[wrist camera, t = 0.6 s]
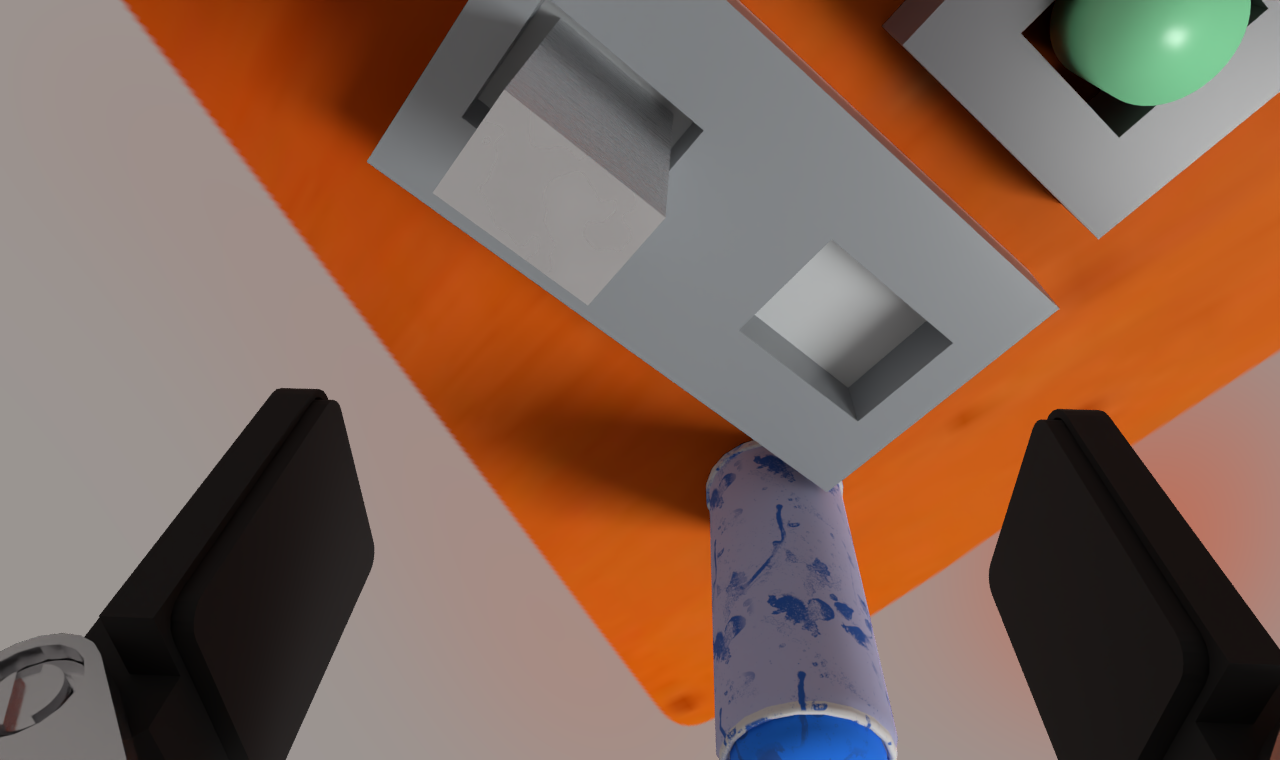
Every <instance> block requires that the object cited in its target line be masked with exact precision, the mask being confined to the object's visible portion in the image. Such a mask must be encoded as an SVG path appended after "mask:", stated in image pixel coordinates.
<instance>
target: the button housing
mask: <svg viewBox="0 0 1280 760" xmlns="http://www.w3.org/2000/svg"><path fill="white" fill-rule="evenodd" d="M1053 1H1054V0H905V1H904V2H903V4H902V5H901V6H900V7H899V8H898V9H897V10H896V11H895V12H894V13H893V15H892V16H891V17H890V18H889V19H888V20H887V21H886V22H885V23H884V24H883V25H882V27H883V28H884V29H885V30H886V31H887V32H888V33H889V34H890V35H891V36H892V37H893V38H894V39H895V40H896V41H897V42H898V43H899V44H900V45H901V46H902V47H903V48H904V49H905V50H906V51H907V52H908V53H909V54H910V55H911V56H912V57H913V58H914V59H915V60H916V61H917V62H919V63H920V64H921V65H922V66H923V67H924V68H925V69H926V70H927V71H928V72H929V73H930V74H931V75H932V76H933V77H934V78H935V79H936V80H937V81H938V82H939V83H940V84H941V85H942V86H943V87H944V88H945V89H946V90H947V91H948V92H949V93H950V94H951V95H952V96H953V97H954V98H955V99H956V100H957V101H958V102H959V103H960V104H961V105H962V106H963V107H964V108H965V109H966V110H967V111H968V112H969V113H970V114H971V115H972V116H973V117H974V118H975V119H976V120H977V121H978V122H979V123H980V124H981V125H982V126H983V127H984V128H985V129H986V130H987V131H988V132H989V133H990V134H991V135H992V136H993V137H994V138H995V139H996V140H997V141H998V142H999V143H1000V144H1001V145H1002V146H1003V147H1004V148H1005V149H1006V150H1007V151H1009V152H1010V153H1011V154H1012V155H1013V156H1014V157H1015V158H1016V159H1017V160H1018V161H1019V162H1020V163H1021V164H1022V165H1023V166H1024V167H1025V168H1026V169H1027V170H1028V171H1029V172H1030V173H1031V174H1032V175H1033V176H1034V177H1035V178H1036V179H1037V180H1038V181H1039V182H1040V183H1041V184H1042V185H1043V186H1044V187H1045V188H1046V189H1047V190H1048V191H1049V192H1050V193H1051V194H1052V195H1053V196H1054V197H1055V198H1056V199H1057V200H1058V201H1059V202H1060V203H1061V204H1062V205H1063V206H1064V207H1065V208H1066V209H1067V210H1068V211H1069V212H1070V213H1072V214H1073V215H1074V216H1075V217H1076V218H1077V219H1078V220H1079V221H1080V222H1081V223H1082V224H1083V225H1084V226H1085V227H1086V228H1087V229H1088V230H1089V231H1090V232H1091V233H1092V234H1094V235H1095V236H1096V237H1097V238H1098V239H1099V238H1101V237H1102V236H1103V235H1104V234H1106V233H1107V232H1108V231H1109V230H1110V229H1112V228H1113V227H1114V226H1115V225H1117V224H1118V223H1119V222H1120V221H1122V220H1123V219H1124V218H1125V217H1126V216H1128V215H1129V214H1130V213H1131V212H1133V211H1134V210H1135V209H1136V208H1137V207H1139V206H1140V205H1141V204H1142V203H1144V202H1145V201H1146V200H1147V199H1149V198H1150V197H1151V196H1152V195H1153V194H1155V193H1156V192H1157V191H1158V190H1160V189H1161V188H1162V187H1163V186H1164V185H1166V184H1167V183H1168V182H1169V181H1171V180H1172V179H1173V178H1174V177H1176V176H1177V175H1178V174H1179V173H1180V172H1182V171H1183V170H1184V169H1185V168H1187V167H1188V166H1189V165H1190V164H1192V163H1193V162H1194V161H1195V160H1196V159H1198V158H1199V157H1200V156H1201V155H1203V154H1204V153H1205V152H1206V151H1207V150H1209V149H1210V148H1211V147H1212V146H1214V145H1215V144H1216V143H1217V142H1219V141H1220V140H1221V139H1222V138H1223V137H1225V136H1226V135H1227V134H1228V133H1230V132H1231V131H1232V130H1233V129H1234V128H1236V127H1237V126H1238V125H1239V124H1241V123H1242V122H1243V121H1244V120H1246V119H1247V118H1248V117H1249V116H1250V115H1252V114H1253V113H1254V112H1255V111H1257V110H1258V109H1259V108H1260V107H1261V106H1263V105H1264V104H1265V103H1266V102H1268V101H1269V100H1270V99H1271V98H1273V97H1274V96H1275V95H1276V94H1277V93H1279V92H1280V0H1251V8H1250V16H1249V21H1248V25H1247V28H1246V31H1245V34H1244V36H1243V38H1242V41H1241V43H1240V45H1239V46H1238V48H1237V50H1236V52H1235V53H1234V55H1233V56H1232V57H1231V59H1230V60H1229V62H1228V63H1227V64H1226V65H1225V66H1224V67H1223V69H1222V70H1221V71H1220V72H1219V73H1218V74H1217V75H1216V76H1215V77H1214V78H1212V79H1211V80H1210V81H1209V82H1208V83H1206V84H1205V85H1204V86H1202V87H1201V88H1199V89H1198V90H1196V91H1195V92H1193V93H1191V94H1189V95H1187V96H1185V97H1183V98H1181V99H1178V100H1176V101H1173V102H1169V103H1166V104H1161V105H1154V106H1140V105H1133V104H1129V103H1126V102H1123V101H1121V100H1118V99H1117V98H1115V97H1113V96H1112V95H1110V94H1108V93H1106V92H1105V91H1103V90H1101V91H1100V92H1099V93H1098V94H1097V95H1095V96H1094V97H1093V98H1092V99H1091V100H1090V101H1089V102H1088V103H1086V102H1085V101H1084V100H1083V99H1082V98H1081V97H1080V96H1079V95H1078V94H1077V93H1076V91H1075V90H1074V89H1073V88H1072V87H1071V86H1070V85H1069V84H1068V83H1067V82H1066V81H1065V80H1064V79H1063V78H1062V77H1061V75H1060V74H1059V73H1058V72H1057V71H1056V70H1055V69H1054V68H1053V67H1052V66H1051V65H1050V64H1049V63H1048V62H1047V61H1046V60H1045V58H1044V57H1043V56H1042V55H1041V54H1040V53H1039V52H1038V51H1037V50H1036V49H1035V48H1034V47H1033V46H1032V45H1031V44H1030V42H1029V41H1028V40H1027V39H1026V38H1025V37H1024V36H1023V35H1022V34H1021V33H1022V32H1023V31H1024V30H1025V29H1026V28H1027V27H1028V26H1029V25H1030V24H1031V23H1032V22H1033V21H1034V20H1035V19H1036V18H1037V17H1038V16H1039V15H1040V14H1041V13H1042V12H1043V11H1044V10H1045V9H1046V8H1047V7H1048V6H1049V5H1050V4H1051V3H1052V2H1053Z"/></svg>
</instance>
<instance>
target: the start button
mask: <svg viewBox="0 0 1280 760" xmlns="http://www.w3.org/2000/svg"><path fill="white" fill-rule="evenodd" d="M1250 8H1251V0H1056V1H1055V4H1054V7H1053V10H1052V15H1051V20H1050V38H1051V43H1052V47H1053V50H1054V52H1055V54H1056V56H1057V58H1058V59H1059V61H1060V62H1061V63H1062V65H1063V66H1065V67H1066V68H1067V69H1068V70H1069V71H1071V72H1072V73H1074V74H1076V75H1077V76H1079V77H1081V78H1082V79H1084V80H1086V81H1088V82H1089V83H1091V84H1093V85H1094V86H1096V87H1098V88H1100V89H1101V90H1103V91H1105V92H1106V93H1108V94H1110V95H1112V96H1113V97H1115V98H1117V99H1118V100H1121V101H1123V102H1126V103H1129V104H1133V105H1140V106H1154V105H1161V104H1166V103H1169V102H1173V101H1176V100H1178V99H1181V98H1183V97H1185V96H1187V95H1189V94H1191V93H1193V92H1195V91H1196V90H1198V89H1199V88H1201V87H1202V86H1204V85H1205V84H1206V83H1208V82H1209V81H1210V80H1211V79H1212V78H1214V77H1215V76H1216V75H1217V74H1218V73H1219V72H1220V71H1221V70H1222V69H1223V67H1224V66H1225V65H1226V64H1227V63H1228V62H1229V60H1230V59H1231V57H1232V56H1233V55H1234V53H1235V52H1236V50H1237V48H1238V46H1239V45H1240V43H1241V41H1242V38H1243V36H1244V34H1245V31H1246V28H1247V25H1248V21H1249V16H1250Z"/></svg>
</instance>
